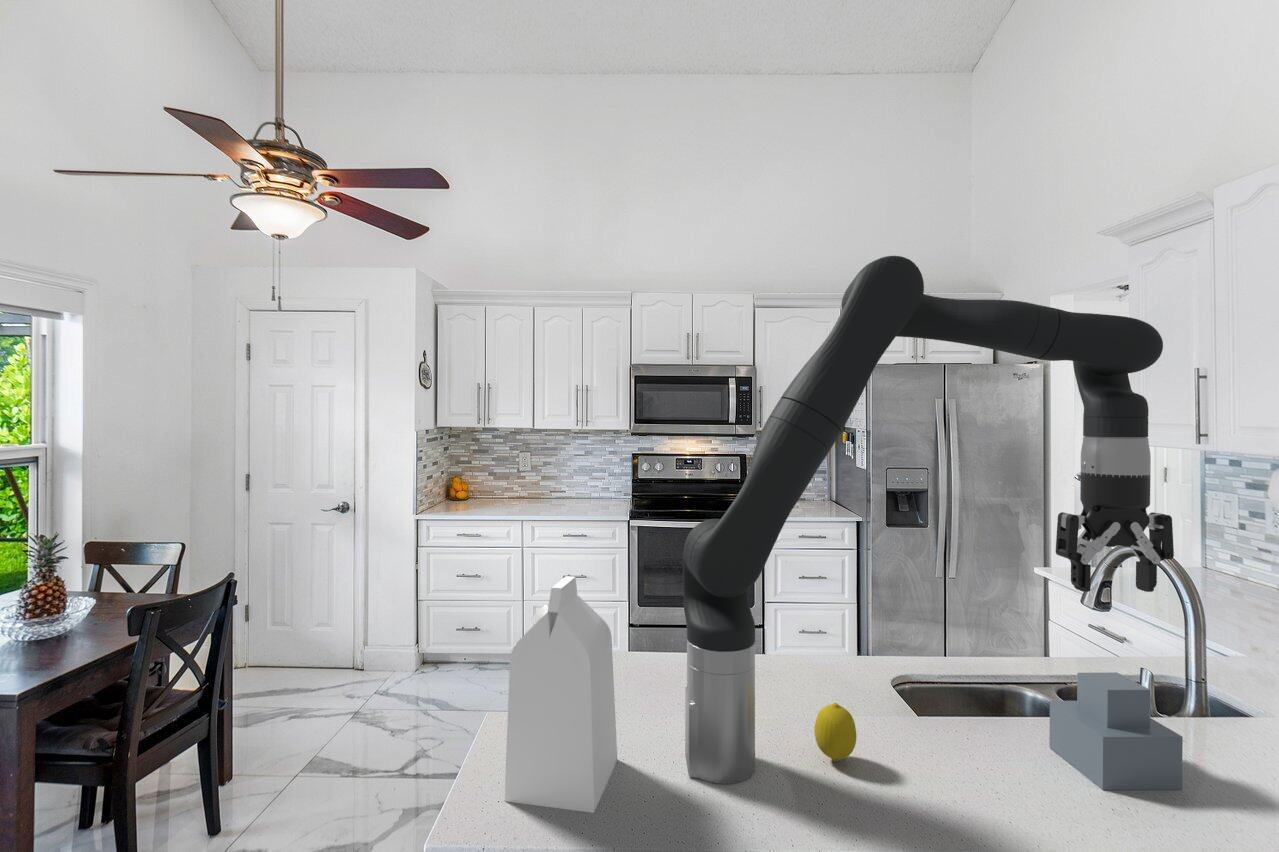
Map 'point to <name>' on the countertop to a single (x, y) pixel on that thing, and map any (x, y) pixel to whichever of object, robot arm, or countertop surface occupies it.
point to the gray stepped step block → (1115, 735)
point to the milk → (561, 707)
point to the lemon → (835, 732)
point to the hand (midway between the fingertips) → (1113, 590)
